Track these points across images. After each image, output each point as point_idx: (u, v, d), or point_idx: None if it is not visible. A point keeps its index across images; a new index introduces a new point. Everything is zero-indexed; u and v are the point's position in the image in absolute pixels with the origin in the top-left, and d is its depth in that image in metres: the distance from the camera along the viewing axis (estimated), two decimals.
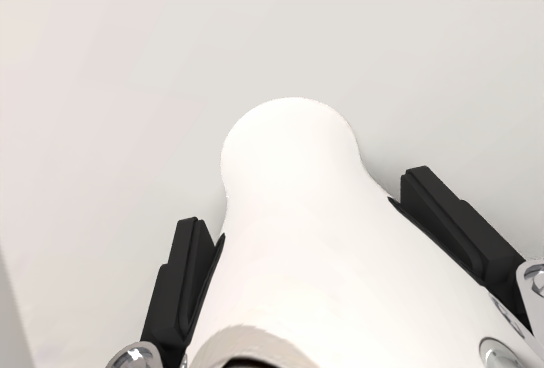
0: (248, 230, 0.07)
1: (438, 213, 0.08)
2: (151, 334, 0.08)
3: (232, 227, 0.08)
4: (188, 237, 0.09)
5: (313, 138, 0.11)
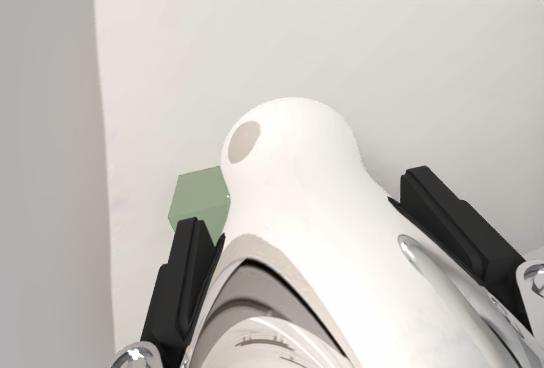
0: (248, 230, 0.07)
1: (438, 213, 0.08)
2: (151, 334, 0.08)
3: (232, 227, 0.08)
4: (188, 237, 0.09)
5: (313, 138, 0.11)
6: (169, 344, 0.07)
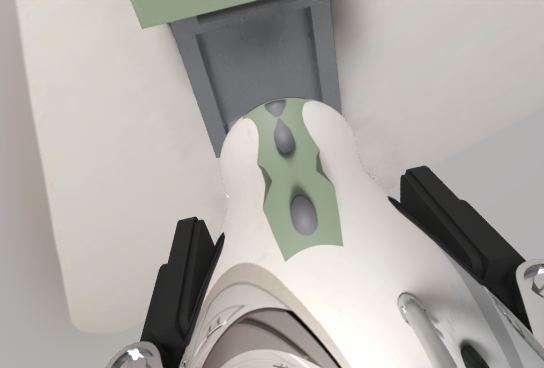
0: (248, 230, 0.07)
1: (438, 213, 0.08)
2: (151, 334, 0.08)
3: (232, 227, 0.08)
4: (188, 237, 0.09)
5: (313, 138, 0.11)
6: (169, 344, 0.07)
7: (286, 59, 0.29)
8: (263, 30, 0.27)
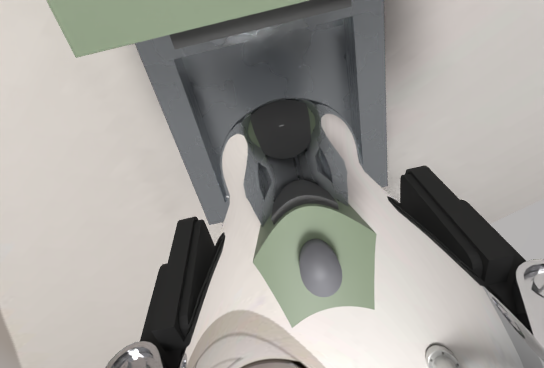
0: (248, 230, 0.07)
1: (438, 213, 0.08)
2: (151, 334, 0.08)
3: (232, 227, 0.08)
4: (188, 237, 0.09)
5: (313, 138, 0.11)
6: (169, 344, 0.07)
7: (310, 90, 0.20)
8: (277, 50, 0.18)
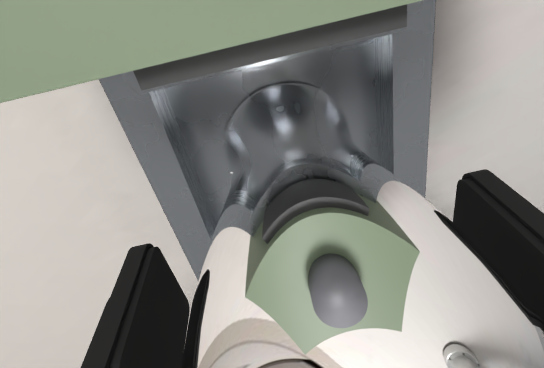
0: (251, 187, 0.08)
1: (513, 222, 0.08)
2: None
3: (237, 189, 0.09)
4: (136, 268, 0.09)
5: (308, 116, 0.12)
6: None
7: None
8: (288, 75, 0.14)
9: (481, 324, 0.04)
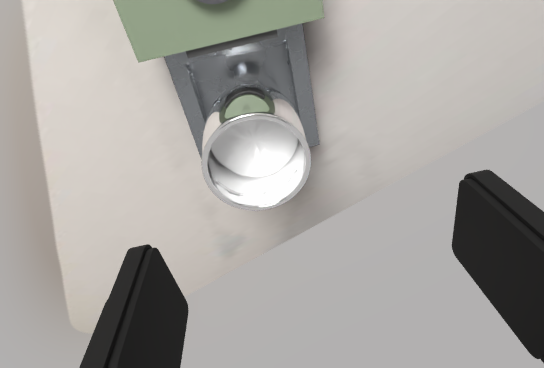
0: (225, 89, 0.25)
1: (516, 223, 0.08)
2: None
3: None
4: (135, 269, 0.09)
5: (252, 73, 0.28)
6: None
7: None
8: (246, 58, 0.31)
9: (265, 96, 0.21)
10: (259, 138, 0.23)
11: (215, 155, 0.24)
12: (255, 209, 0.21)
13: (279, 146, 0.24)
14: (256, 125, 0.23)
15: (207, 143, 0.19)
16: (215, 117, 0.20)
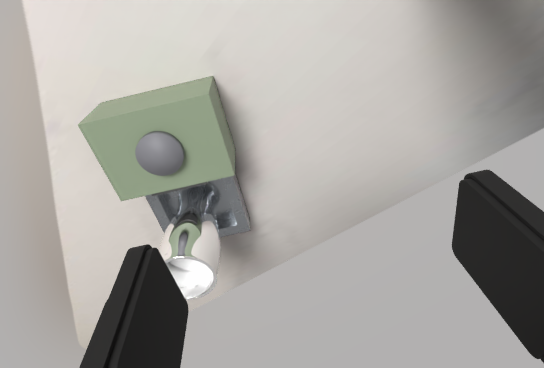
0: (174, 217, 0.40)
1: (516, 223, 0.08)
2: None
3: (173, 217, 0.41)
4: (135, 269, 0.09)
5: (197, 195, 0.44)
6: None
7: None
8: None
9: (191, 236, 0.36)
10: None
11: None
12: (187, 299, 0.37)
13: None
14: None
15: None
16: (162, 250, 0.35)
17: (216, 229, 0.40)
